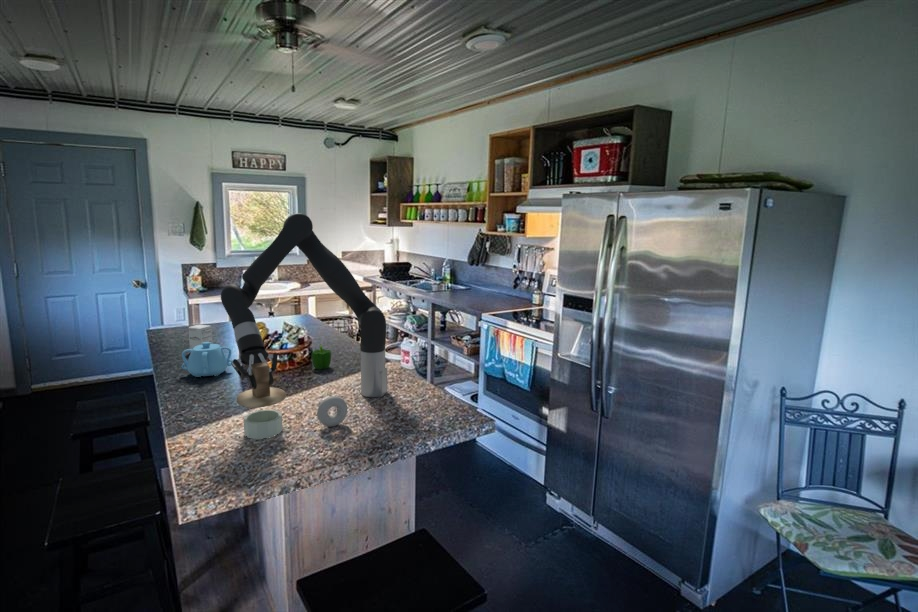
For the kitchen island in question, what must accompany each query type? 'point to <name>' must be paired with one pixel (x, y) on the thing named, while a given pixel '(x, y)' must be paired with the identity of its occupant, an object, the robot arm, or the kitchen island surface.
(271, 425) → the bowl
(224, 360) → the decorative pot
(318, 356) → the bell pepper
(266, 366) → the lid
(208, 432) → the kitchen island surface
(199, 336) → the supplement box
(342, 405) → the donut
